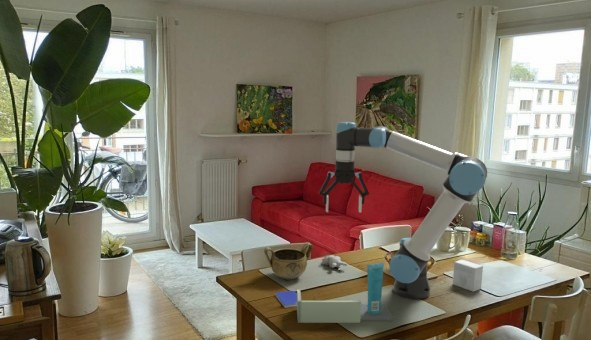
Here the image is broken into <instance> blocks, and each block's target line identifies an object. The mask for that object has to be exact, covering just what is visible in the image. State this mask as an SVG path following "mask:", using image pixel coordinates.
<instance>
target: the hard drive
mask: <svg viewBox="0 0 591 340" xmlns="http://www.w3.org/2000/svg"><path fill="white" fill-rule="evenodd" d="M275 297H276V298H277V300H278V301H279V302H280V303H281V304H282V306H283V307H284V309H286V308H292V307H297V292H295V290H288V291H282V292H280V291H279V292H276V293H275ZM301 301H303V300H302V299H301Z"/></svg>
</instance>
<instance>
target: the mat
mask: <svg viewBox="0 0 591 340" xmlns="http://www.w3.org/2000/svg"><path fill="white" fill-rule="evenodd" d="M393 320H394V319H393V317H392V314H391V312H390V311H389V308H388V306H387V305H386V304H381V312H380V313H379V314H370V313H369V312H368V304H361V313H360V322H361V321H362V322H363V321H365V322H366V321H367V322H368V321H369V322H373V321H375V322H376V321H377V322H380V321H381V322H382V321H385V322H387V321H388V322H390V321H393Z"/></svg>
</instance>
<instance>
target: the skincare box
mask: <svg viewBox="0 0 591 340" xmlns="http://www.w3.org/2000/svg"><path fill="white" fill-rule="evenodd" d="M483 269H484V266H483V265H481V264H477V263H475V262H471V261H468V260H465V259H459V260H457V261H454V262H453V278H452V285H454V286H457V287H460V288H461V289H465V290H467V291H471V292H476V291H478V290H481V289H482V283H483V282H482V281H483V272H484V271H483Z"/></svg>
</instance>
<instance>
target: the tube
mask: <svg viewBox="0 0 591 340" xmlns="http://www.w3.org/2000/svg"><path fill="white" fill-rule="evenodd" d="M384 265H385V263H384V261H383V262H377V263H376V262H375V263H372V264H367V265H366V269H367V270H366V271H367V305H368V312H369V313H370V314H379V313H380V312H381V305H382V292H383V279H384V277H383V276H384V275H383V274H384V268H385V267H384Z"/></svg>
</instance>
